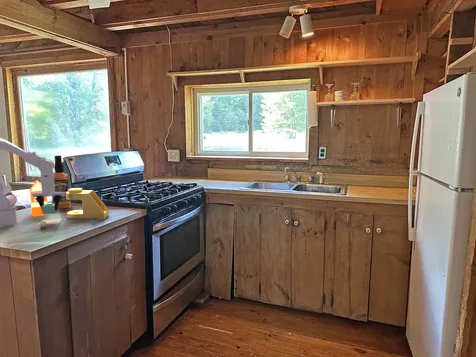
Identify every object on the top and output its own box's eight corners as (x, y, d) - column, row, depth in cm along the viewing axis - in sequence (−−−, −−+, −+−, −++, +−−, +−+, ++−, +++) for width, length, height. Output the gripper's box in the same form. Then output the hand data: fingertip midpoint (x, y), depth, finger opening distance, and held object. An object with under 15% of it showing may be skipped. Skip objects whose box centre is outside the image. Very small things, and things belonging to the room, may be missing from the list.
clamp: (64, 220, 178) (62, 190, 176) (71, 216, 187) (69, 187, 185) (104, 219, 181) (102, 190, 178) (108, 215, 190) (107, 187, 187)
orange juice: (47, 213, 194) (44, 178, 191) (48, 216, 186) (45, 180, 183) (31, 214, 189) (28, 179, 187) (32, 218, 182) (29, 181, 179)
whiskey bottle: (52, 209, 202) (48, 156, 197) (51, 206, 210) (48, 155, 206) (71, 208, 207) (67, 155, 202) (70, 204, 215) (67, 154, 211)
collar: (42, 214, 167) (41, 206, 166) (45, 211, 172) (45, 204, 172) (54, 213, 168) (53, 205, 168) (57, 211, 173) (56, 203, 173)
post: (39, 229, 159) (39, 222, 158) (41, 227, 161) (41, 221, 161) (45, 228, 159) (45, 222, 159) (47, 227, 162) (46, 221, 161)
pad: (37, 225, 166) (37, 224, 165) (43, 220, 174) (43, 219, 174) (57, 224, 168) (57, 223, 168) (62, 219, 176) (62, 218, 176)
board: (24, 234, 154) (23, 232, 154) (39, 222, 174) (39, 220, 174) (55, 232, 157) (55, 230, 156) (67, 221, 177) (66, 219, 177)
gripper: (28, 185, 163) (30, 213, 165) (61, 184, 166) (63, 211, 168) (33, 183, 169) (35, 209, 171) (65, 182, 173) (67, 208, 175)
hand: (49, 210), depth 170 cm, fingers closed on collar, 5 cm apart
